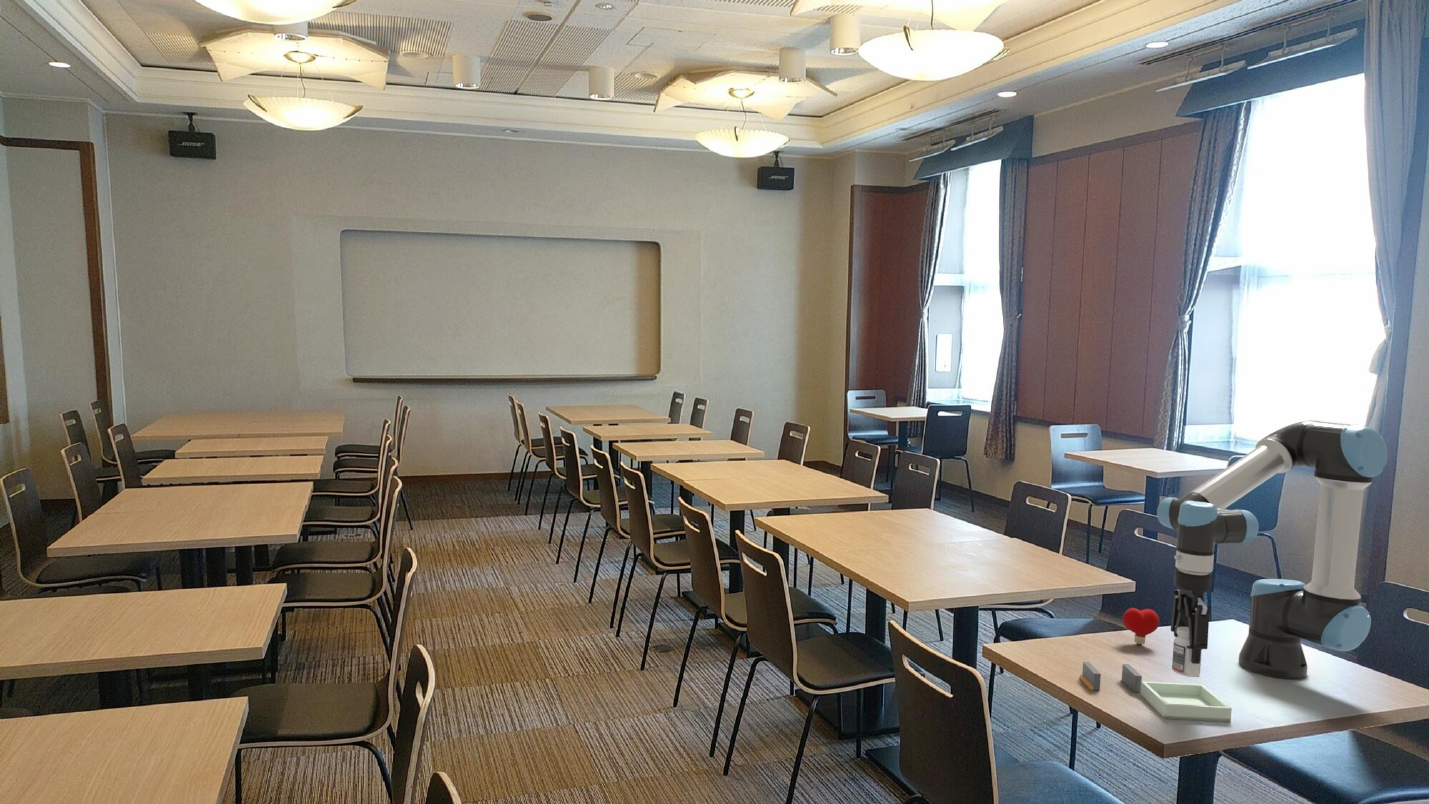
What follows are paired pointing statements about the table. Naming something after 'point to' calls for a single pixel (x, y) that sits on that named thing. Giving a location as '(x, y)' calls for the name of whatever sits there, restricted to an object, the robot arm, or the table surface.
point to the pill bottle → (1181, 651)
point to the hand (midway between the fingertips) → (1186, 671)
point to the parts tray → (1185, 701)
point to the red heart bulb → (1141, 623)
